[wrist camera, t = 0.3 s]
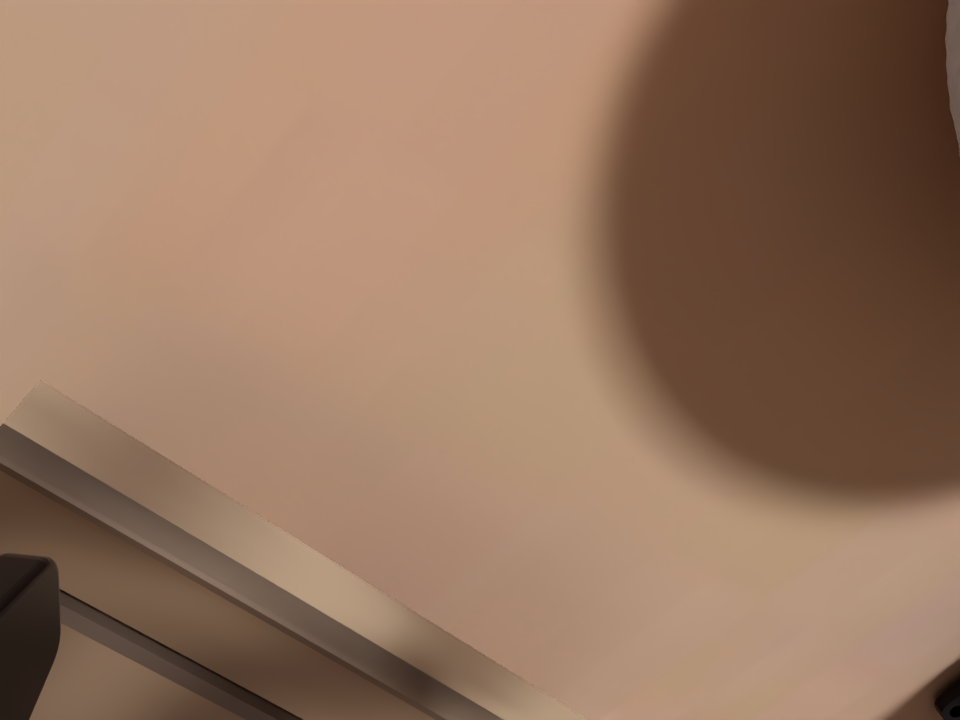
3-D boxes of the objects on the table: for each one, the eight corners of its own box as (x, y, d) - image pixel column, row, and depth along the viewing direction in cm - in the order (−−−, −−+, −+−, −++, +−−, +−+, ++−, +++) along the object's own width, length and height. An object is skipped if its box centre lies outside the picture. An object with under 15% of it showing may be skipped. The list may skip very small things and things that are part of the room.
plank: (676, 773, 20) (664, 845, 19) (506, 768, 25) (490, 824, 24) (40, 379, 15) (-21, 450, 14) (-9, 475, 20) (-56, 531, 19)
